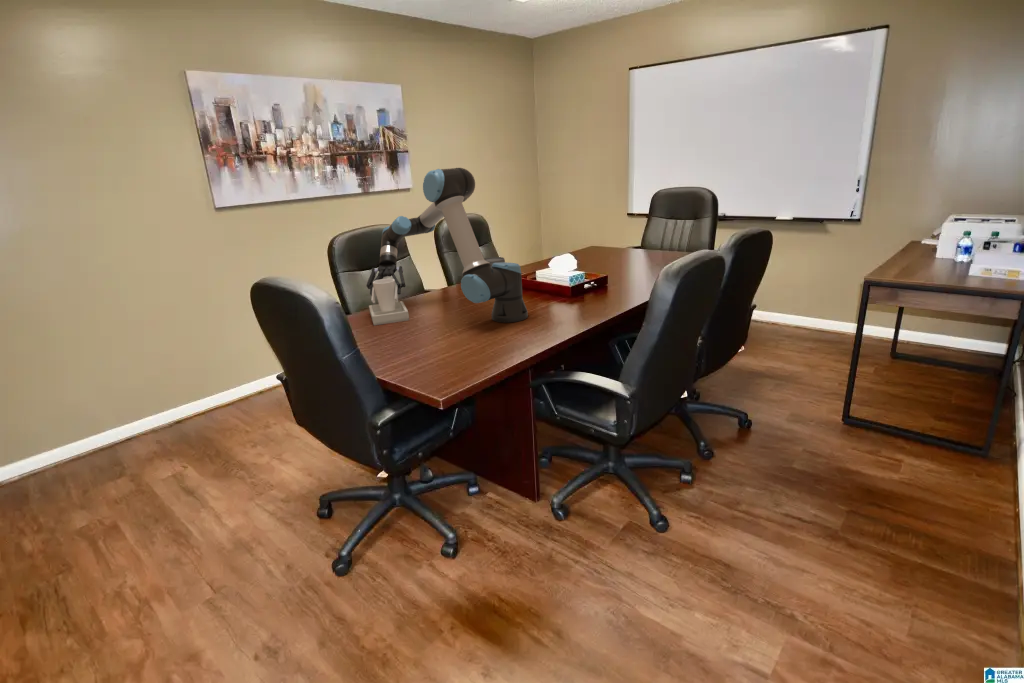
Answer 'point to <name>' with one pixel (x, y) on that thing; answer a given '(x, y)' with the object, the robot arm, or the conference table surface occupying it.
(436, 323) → the conference table surface
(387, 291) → the foam cup
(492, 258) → the reusable coffee cup
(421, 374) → the conference table surface
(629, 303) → the conference table surface
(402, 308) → the grey tray
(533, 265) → the conference table surface
